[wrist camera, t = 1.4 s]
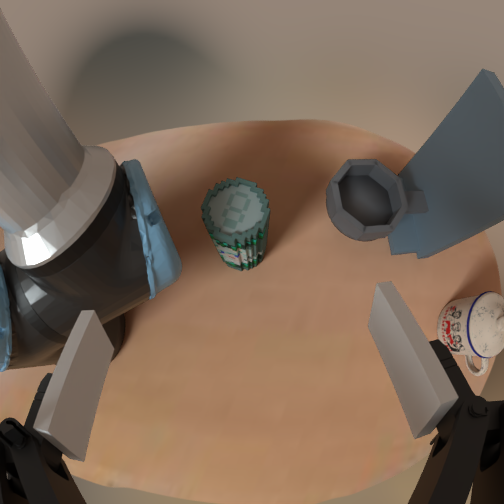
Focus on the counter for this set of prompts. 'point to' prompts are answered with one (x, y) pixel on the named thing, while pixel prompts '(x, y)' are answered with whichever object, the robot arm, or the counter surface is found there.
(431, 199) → the cup bracket
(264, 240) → the can
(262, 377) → the counter surface
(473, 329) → the teacup with lid
